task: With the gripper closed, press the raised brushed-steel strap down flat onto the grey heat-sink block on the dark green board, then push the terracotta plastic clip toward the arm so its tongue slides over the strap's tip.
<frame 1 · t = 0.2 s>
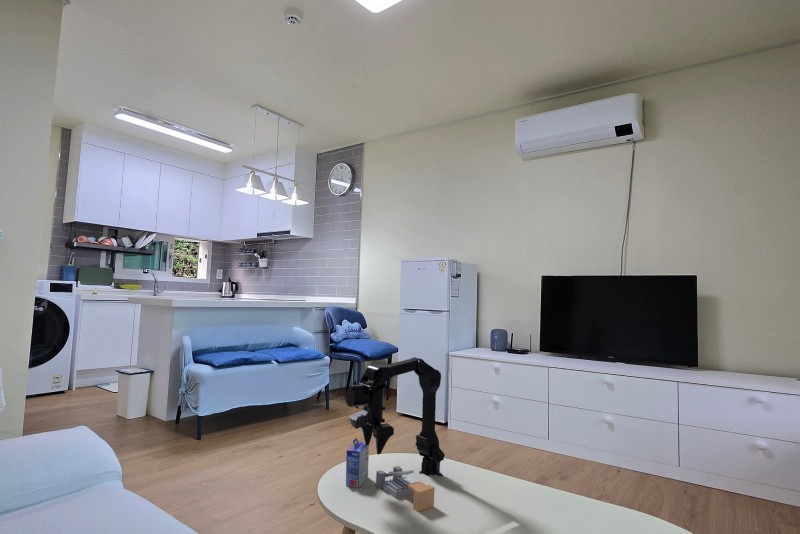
hand: (372, 449, 147), 14 cm above the table, fingers open, 9 cm apart
ink cartridge box: (356, 481, 154), on the table
clip: (419, 495, 137), point 4 cm above the table, slide at 0.0 cm
board: (404, 497, 143), on the table
strap: (398, 473, 146), point 7 cm above the table, hinge at 22.0°
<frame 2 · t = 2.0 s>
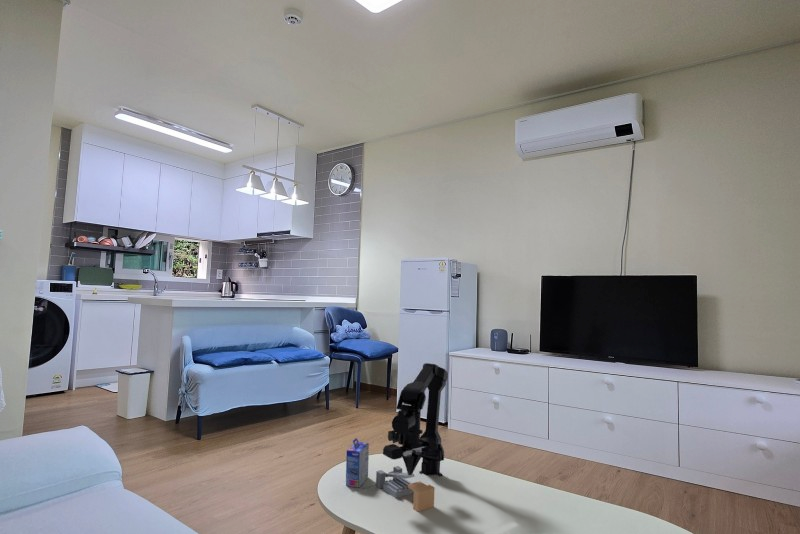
hand: (409, 474, 142), 8 cm above the table, fingers closed, pressing on strap
strap: (399, 475, 146), point 6 cm above the table, hinge at 16.8°, touching gripper
everything else where it was.
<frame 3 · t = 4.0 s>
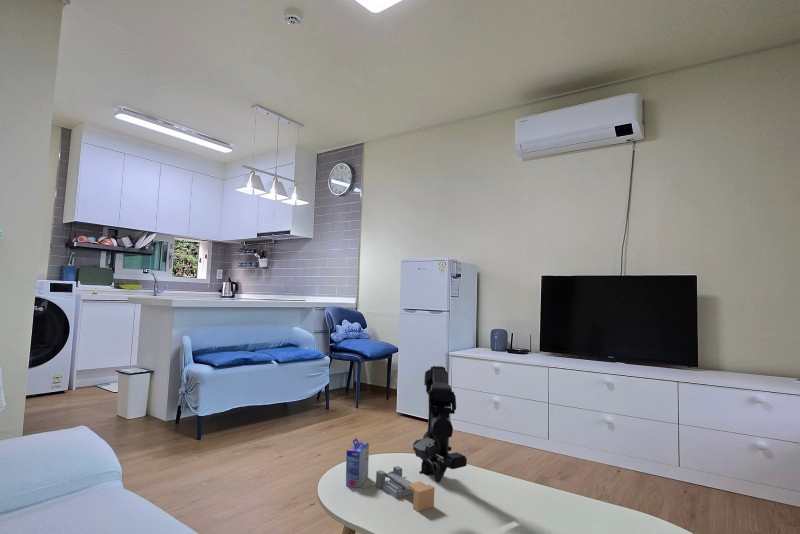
hand: (437, 482, 131), 11 cm above the table, fingers closed
strap: (399, 480, 146), point 5 cm above the table, hinge at 1.9°
everything else where it was.
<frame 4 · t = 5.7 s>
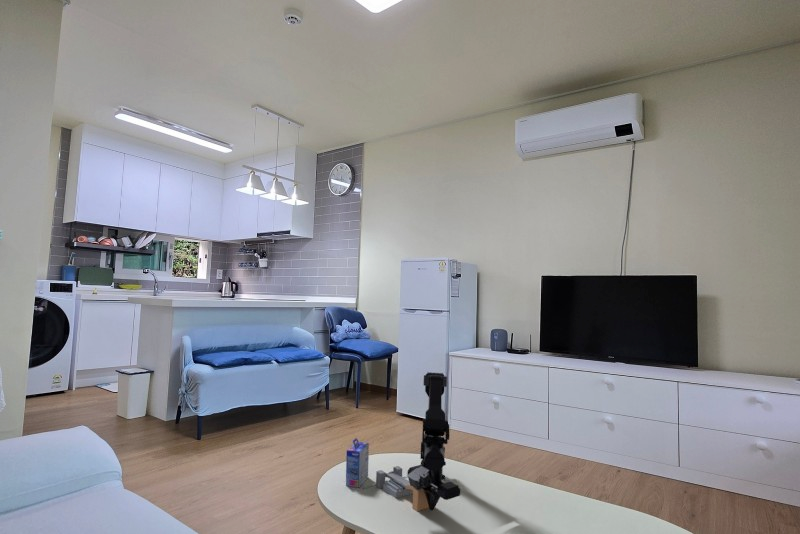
hand: (431, 509, 132), 2 cm above the table, fingers closed
clip: (419, 494, 137), point 4 cm above the table, slide at 0.4 cm, touching gripper
everything else where it was.
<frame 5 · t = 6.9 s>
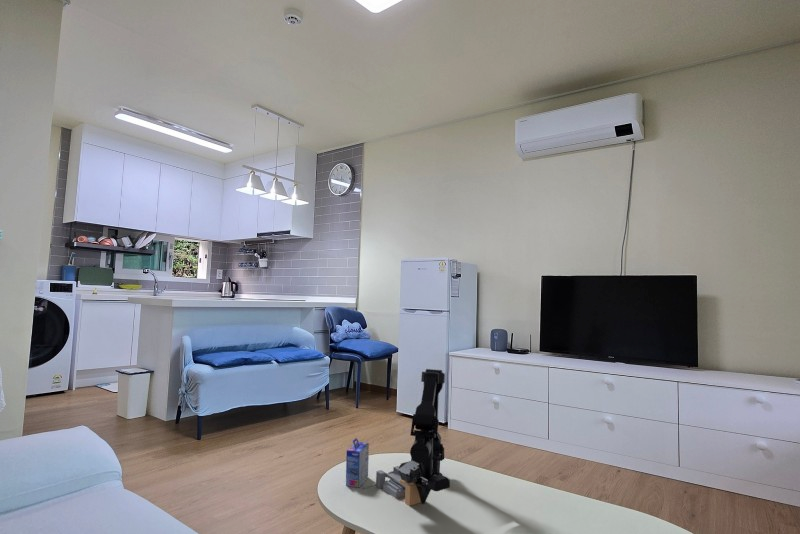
hand: (423, 503, 136), 2 cm above the table, fingers closed
clip: (411, 490, 140), point 4 cm above the table, slide at 4.3 cm, touching gripper
everything else where it was.
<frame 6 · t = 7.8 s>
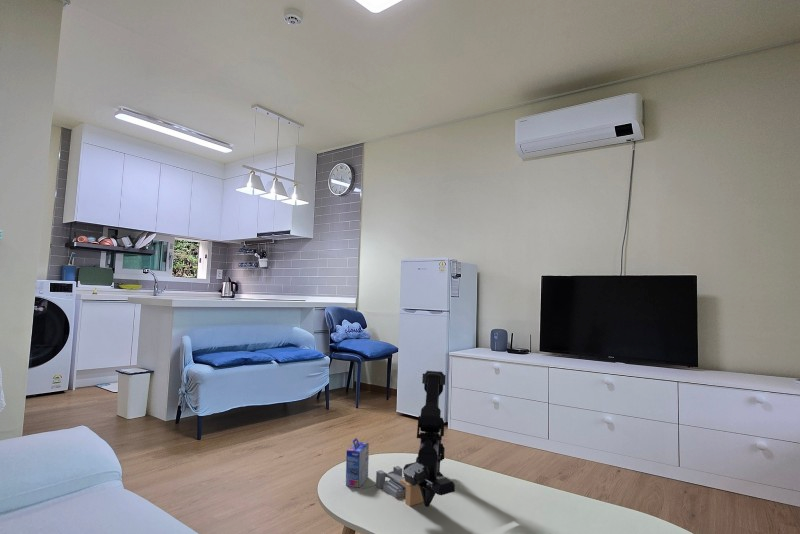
hand: (426, 506, 133), 2 cm above the table, fingers closed
clip: (412, 490, 140), point 4 cm above the table, slide at 4.0 cm
everything else where it was.
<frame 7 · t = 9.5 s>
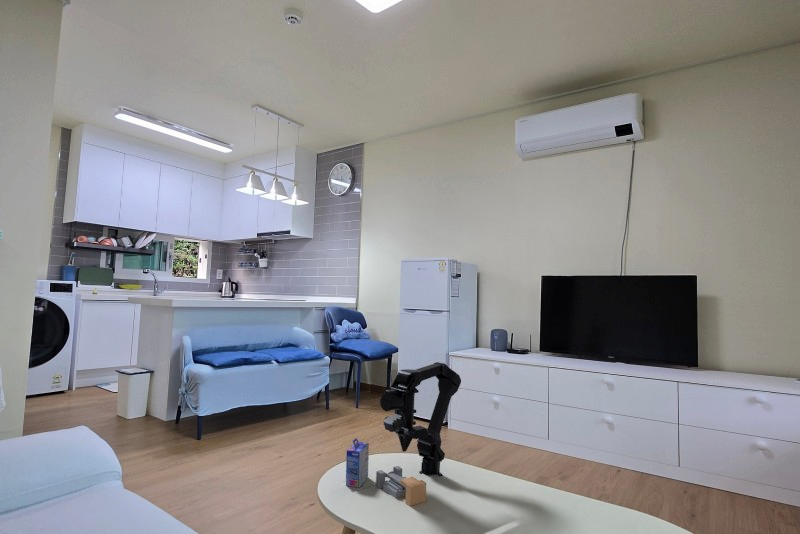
hand: (404, 451, 153), 12 cm above the table, fingers closed
nothing on the table moved.
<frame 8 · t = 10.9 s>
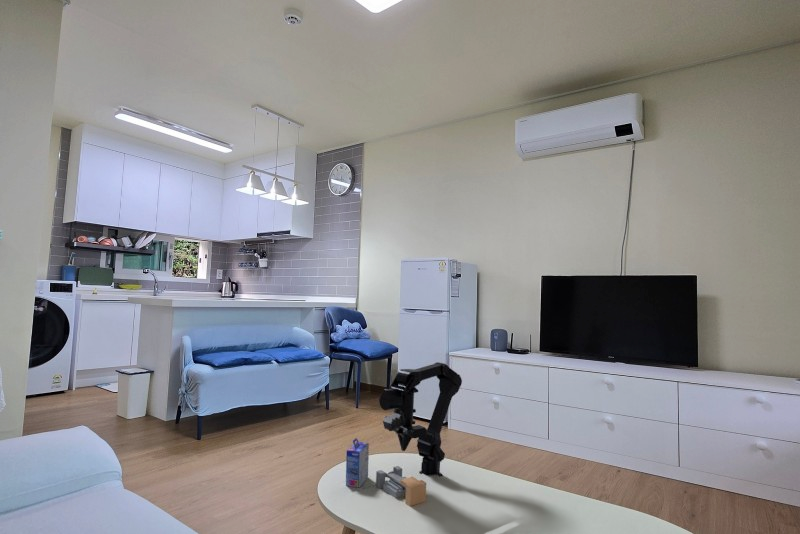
hand: (403, 450, 153), 12 cm above the table, fingers closed
nothing on the table moved.
at the end: strap at +2° (first picture: +22°); clip slide at 4.0 cm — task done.
